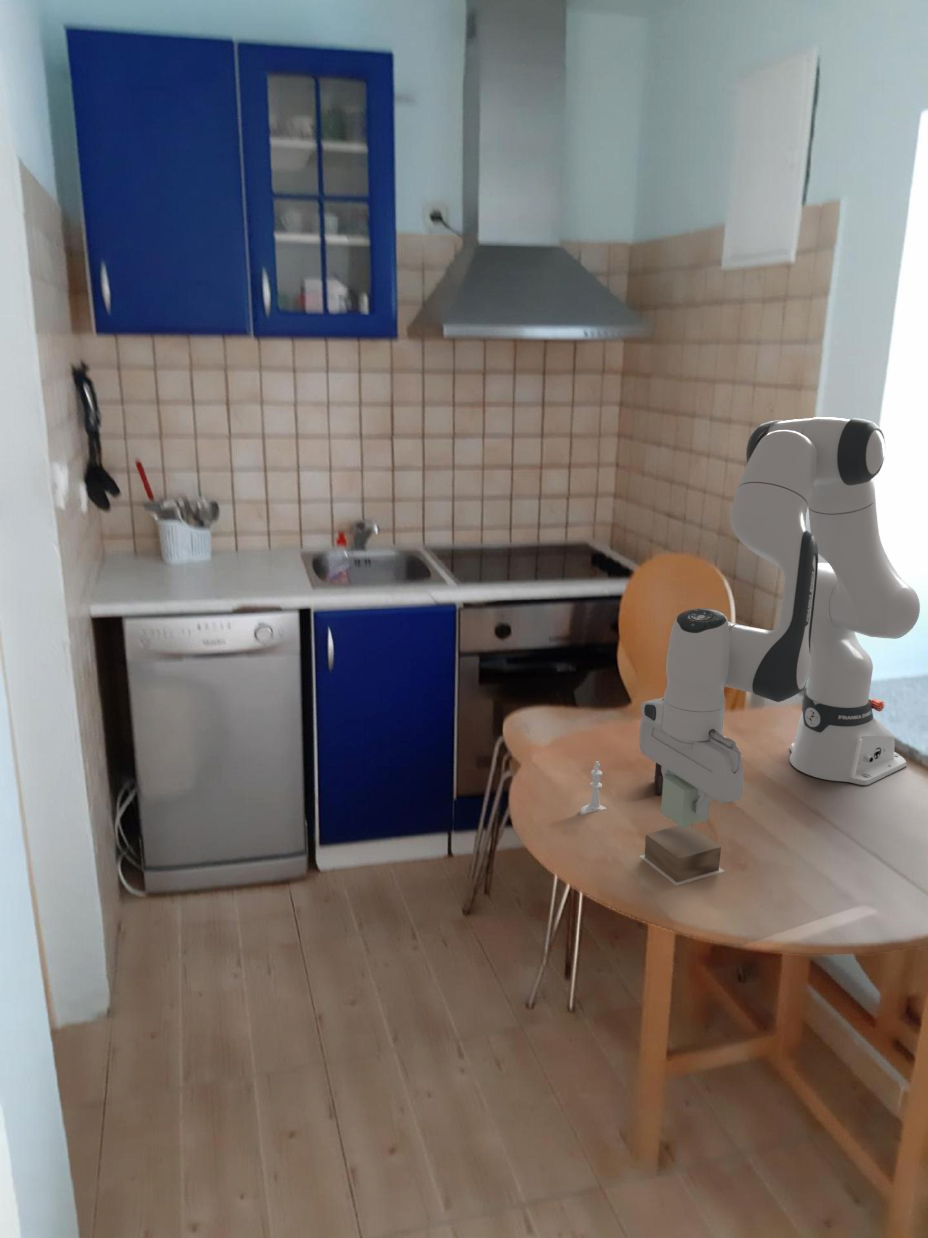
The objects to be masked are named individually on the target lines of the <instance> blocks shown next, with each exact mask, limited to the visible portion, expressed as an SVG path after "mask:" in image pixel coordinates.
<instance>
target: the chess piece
mask: <svg viewBox="0 0 928 1238" xmlns="http://www.w3.org/2000/svg"><path fill="white" fill-rule="evenodd" d="M600 766H601V763H600V761H599V760H598V761H595V762H594V766H593V769H591V771H590V776H591V778H592V781H591V782H590V783H589V787H590V788H592V792H591V797H590V802H589V804H586V805H584V806H582V807H581V808H580V812H579V814H580V816H582V815H585V814H588V813H593V812H599V811H602V810H605V809H607V808H606V807H605V806H603V805H602V804H601V803H600V802H601V801H600V791H599V789H601V788H602V787H603V784H602V783H601V782H600V781H601V779H602V776H603V772H602V771H601V770H600V769H599V767H600Z"/></svg>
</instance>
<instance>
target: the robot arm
mask: <svg viewBox="0 0 928 1238" xmlns="http://www.w3.org/2000/svg"><path fill="white" fill-rule="evenodd" d="M885 440H886V439H885V435H884V433H883V431H882V429H880V427H879V425H877V424H876V423H875V422H873V421H872V420H868V419H864V418H858V417H857V418H856V417H853V418H851V419H847V418H838V417H825V416H823V417H820V416H816V417H812V418H802V419H801V418H799V419H791V420H781V419H777V420H772V421H771V420H770V421H767V422H764V423H761V424H760V425H759V426H758V427H756V429H754V431H753V432H752V433H751V435H750V437H749V439H748V442H747V446H746V455H745V457H746V466H745V468H744V471H743V473H742V476H741V478H740V481H739V483H738V485H737V489H736V491H735V495H734V498H733V501H732V504H731V510H730V516H729V517H730V518H729V520H730V525H731V528H732V531H733V533H734V535H735V536H736V538H737V539H738V540H739V541H740V542H741V543H742V545H744V546H745V547H746V548H747V549H748V550H750V551H751V552H752V553H754V554H755V555H757V556H758V557H760V558H763V560H766V561H767V562H769V563H771V564H773V565H774V566H776V567H777V568H779V570H781V571H782V572H783V576H784V585H783V586H784V587H783V593H782V595H783V596H782V601H781V602H782V603H781V611H780V618H779V625H777V627H776V628H775V629H772V630H768V629H765V628H764V629H763V628H759V627H754V626H750V625H749V626H748V625H742V624H740V623H735V622H730V621H728V620H729V619H728V618H727V615H725V614H724V613H722V612H721V611H719V610H716V609H711V608H701V607H700V608H693V609H688V610H685V611H683V612H681V613H679V614H678V615H677V616H676V617H675V619H674V622H673V625H672V626H671V627H672V628H671V631H670V635H669V641H668V647H667V655H666V665H665V673H666V678H667V684H666V689H665V691H664V695H663V697H659V698H655V699H649V700H646V701H643V702H642V703H641V706H640V709H641V710H640V711H641V714H642V715H643V716H642V717H641V719H640V726H639V736H638V737H639V738H638V739H639V740H638V742H639V743H638V744H639V748H640V751H641V754H642V755H644V756H645V757H647V758H648V759H650V760H652V761H653V762H655V764H656V763H658V764H659V765H661V766H662V767H661V772H662V775H663V777H665V776H669V775H674V774H675V775H677V776H678V777H680V778H681V779H683V780H684V781H686V782H688V783H689V784H691V785H692V786H694V787H695V788H697V789H698V795H700V797H699V799H698V801H692V811H693V812H695V813H696V814H697V815H699V816H701V815H705V814H706V813H707V810H708V803H709V802H710V803H711V801H712V800H715V801H716V802H717V803H719V804H722V805H723V804H727V803H732V802H736V801H738V800H739V799H740V798H741V797H742V796H743V792H744V764H743V758H742V752H741V751H740V750H739V748H738V747H737V743H736V742H735V741H734V740H733V739H731V738H728V737H726V736H725V735H723V732H724V731H723V730H724V720H725V711H726V710H725V708H726V697H725V691H724V690H725V687H726V688H731V689H735V690H739V691H742V692H748V693H751V694H754V695H755V696H759V697H760V698H761V697H762V698H765V699H767V700H771V701H774V702H776V703H780V702H783V701H786V700H789V699H791V698H793V697H794V696H796V695H798V694H799V693H801V692H802V691H803V690H804V689H805V687H806V691H804V692H803V693H804V694H803V698H802V701H801V702H802V705H801V712H802V713H801V714H800V716H799V721H798V725H797V729H796V732H795V737H794V738H795V739H794V742H792V743H790V747H789V749H790V751H791V754H790V756H789V758H788V760H789V762H790V764H791V765H792V766H793V768H794V769H796V770H798V771H800V772H802V773H803V774H805V775H808V776H810V777H814V778H817V779H822V780H826V781H833V782H846V783H852V784H855V785H861V786H869V785H871V784H873V783H875V782H877V781H879V780H881V779H884V777H887V776H888V775H892V774H893V773H895V772H897V771H899V770H901V769H904V768H905V767H906V766H907V761H906V759H905V758H904V757H903V756H902V755H901V754H899V753H898V752H895V744H896V742H895V737H894V734H893V733H892V732H891V731H890V730H889V728H887V727H885V726H884V725H883V724H882V723H880V721H879V720H878V719H876V718H875V717H874V713H873V710H875V711H877V712H882V711H883V709H885V703H884V701H882V700H878V699H877V698H872V699H870V691H871V684H872V677H873V670H874V666H873V661H872V659H871V656H870V655H869V653H868V651H866V650H865V649H864V647H863V646H862V645H861V644H860V642H859V640H858V639H857V635H856V633H857V634H860V635H864V636H867V637H870V638H879V639H880V638H881V639H895V640H896V639H897V640H898V639H901V638H903V637H905V635H907V634H908V633H909V632H911V631H912V629H913V628H914V626H915V625H916V624H917V623H918V619H919V616H920V612H921V603H920V599H919V595H918V593H917V592H916V591H915V589H914V588H913V587H911V586H910V585H909V584H908V583H906V581H905V580H904V579H903V578H902V577H901V575H900V574H899V573H898V572H897V571H896V569H895V568H894V566H893V565H892V562H891V561H890V559H889V557H888V556H887V553H886V550H885V549H884V547H883V544H882V543H883V542H882V541H881V537H880V530H879V523H878V513H877V503H876V489H875V483H874V478H875V477H876V476H877V475H878V474H879V473H880V471H881V469H882V466H883V463H884V460H885V455H886V441H885ZM807 510H808V517H809V519H808V520H809V529H810V531H808V527H807V522H806V521H807V520H806V519H807ZM819 556H820V557H821V558H823V560H824V561H826V562H819ZM710 803H709V804H710Z"/></svg>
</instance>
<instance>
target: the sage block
mask: <svg viewBox="0 0 928 1238" xmlns="http://www.w3.org/2000/svg"><path fill="white" fill-rule="evenodd" d="M699 797H700V795H698V789H697V788H695V787H694V786H692V785H691V784H689V783H688V782H686V781H684V780H683V779H681V778H680V777H678V776H677V775H675V774H674V775H669V776H665V777H663V789H662V795H661V805H660V813H661V814H662V815H663V816H665V817H667V818H668V819H669V820H671V821H672V822H673V823H675V824H676V825H677V826H680V827H684V826H688V825H690V826H692V825H694V824H695V825H696V824H698V823H702V822H707V821H709V813H710V812H709V811H710V803H711V801H710V802H709V803H708V810H707V813H706V814H705V815H701V816H699V815H697V814H696V813H695V812H693V811H692V801H698V799H699Z"/></svg>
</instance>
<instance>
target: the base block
mask: <svg viewBox="0 0 928 1238" xmlns="http://www.w3.org/2000/svg"><path fill="white" fill-rule="evenodd" d="M644 846H645V847H644V855H645V858H646V859H648V860H649V861H650V862H651V863H653V864H654V865H655V866H657V867H658V868H659V869H660V870H662V871H663V872H664V873H665V874H667V875H668V876H669V877H671V878H672V879H673V880H674V881H676V882H680V881H684V880H687V879H690V878H694V877H697V876H701V875H704V874H707V873H711V872H714V871H717V870H719V867H720V864H721V863H720V862H721V861H720V860H721V852H722V851H721V849H722V846H721V845H719V844H718V843H716V842H715V841H713V840H712V839H710V838H709V837H708V836H706V835H704V834H703V833H702V832H700V831H699V830H697V829H696V828H694V827H693V826H692V825H688V826H684V827H680V826H679V825H676V826H672V827H669V828H664V829H661V830H658V831H652V832H650V833H649V832H648V833H646V834H645V845H644Z"/></svg>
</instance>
